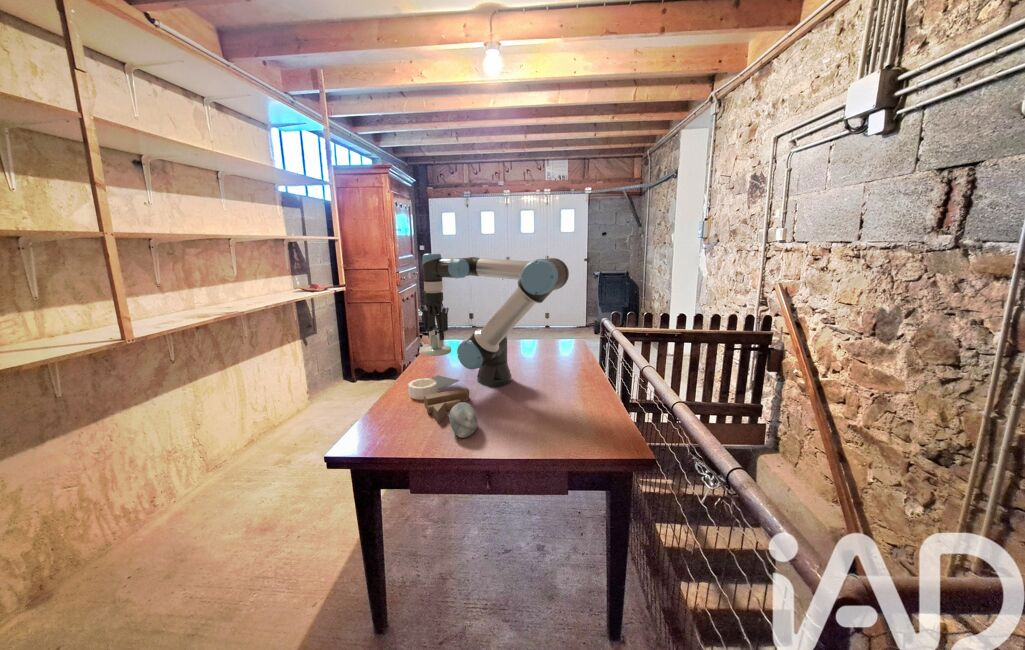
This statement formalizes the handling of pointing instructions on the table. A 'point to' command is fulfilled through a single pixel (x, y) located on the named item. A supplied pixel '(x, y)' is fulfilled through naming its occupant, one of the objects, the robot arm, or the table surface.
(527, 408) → the table surface
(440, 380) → the trivet
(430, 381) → the bowl
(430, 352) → the lid
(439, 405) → the brown jagged block
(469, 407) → the grey rock
